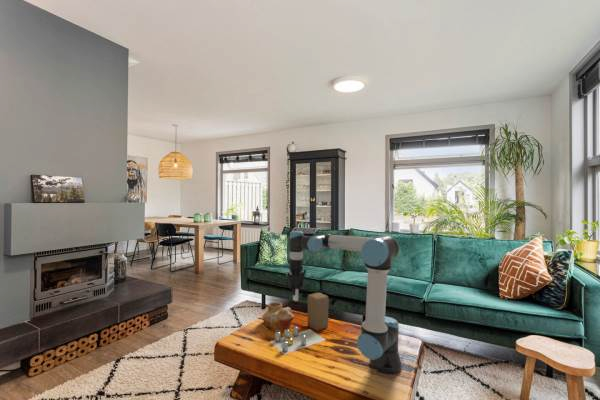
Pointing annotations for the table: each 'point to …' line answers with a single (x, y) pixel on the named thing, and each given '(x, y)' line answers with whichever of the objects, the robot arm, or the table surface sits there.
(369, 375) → the table surface
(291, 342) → the brass round knob
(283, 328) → the ceramic vessel
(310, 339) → the board
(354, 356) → the table surface
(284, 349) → the spacers
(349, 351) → the table surface
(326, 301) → the wooden block
